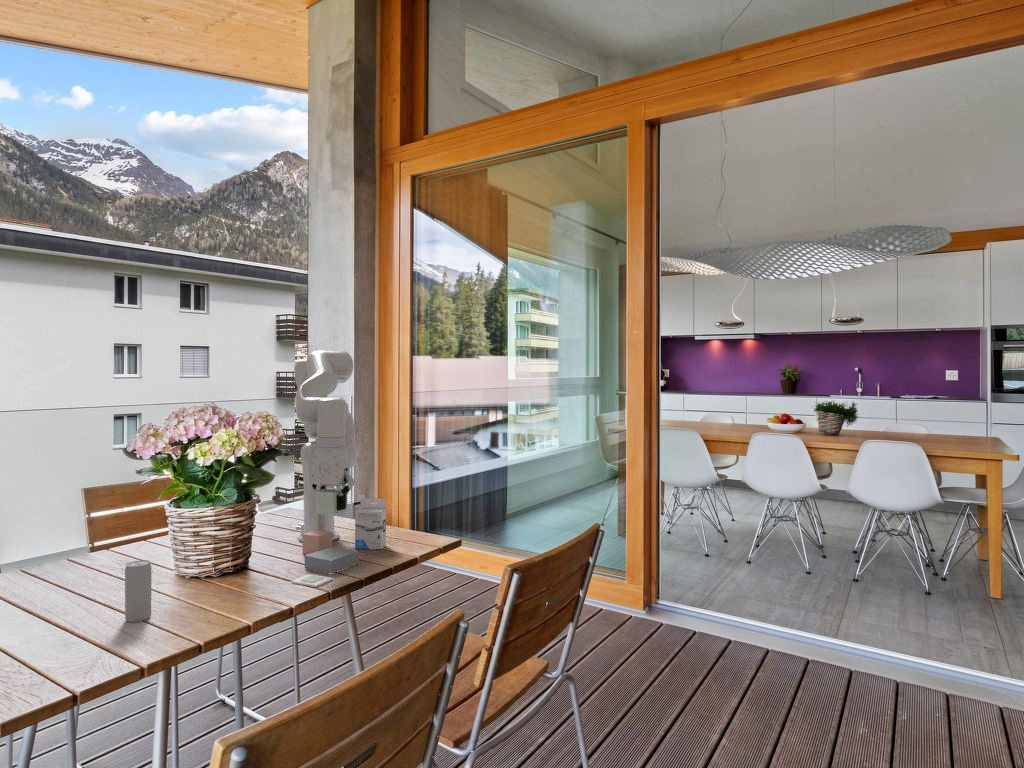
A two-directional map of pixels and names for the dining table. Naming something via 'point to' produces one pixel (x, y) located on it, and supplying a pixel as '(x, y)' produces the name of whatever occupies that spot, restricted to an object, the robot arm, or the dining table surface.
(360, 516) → the ink box
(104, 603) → the dining table surface
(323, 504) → the sage cube
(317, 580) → the card
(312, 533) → the brick cube
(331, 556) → the slate base block
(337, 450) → the robot arm
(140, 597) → the beverage can
